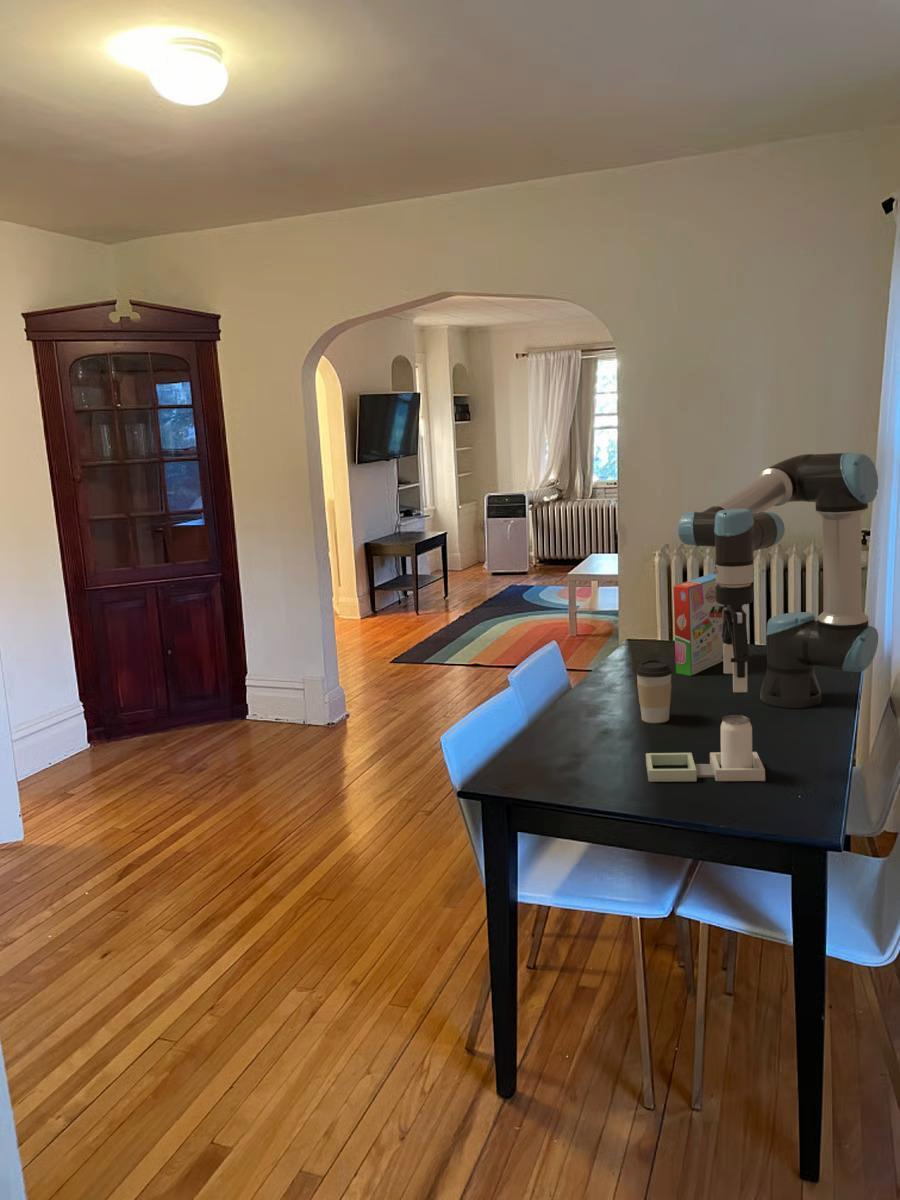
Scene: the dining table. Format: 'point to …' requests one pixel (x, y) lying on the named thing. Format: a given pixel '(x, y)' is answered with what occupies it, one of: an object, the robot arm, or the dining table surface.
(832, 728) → the dining table surface
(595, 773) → the dining table surface
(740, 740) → the can
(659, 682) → the coffee cup
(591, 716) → the dining table surface
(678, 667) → the game box
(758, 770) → the socket panel
